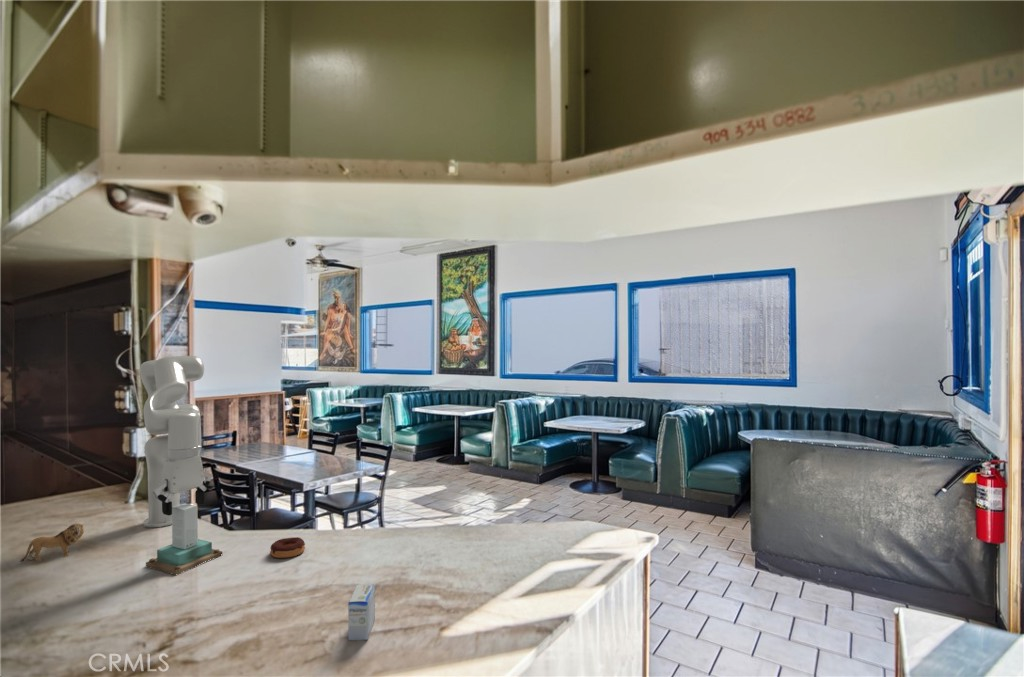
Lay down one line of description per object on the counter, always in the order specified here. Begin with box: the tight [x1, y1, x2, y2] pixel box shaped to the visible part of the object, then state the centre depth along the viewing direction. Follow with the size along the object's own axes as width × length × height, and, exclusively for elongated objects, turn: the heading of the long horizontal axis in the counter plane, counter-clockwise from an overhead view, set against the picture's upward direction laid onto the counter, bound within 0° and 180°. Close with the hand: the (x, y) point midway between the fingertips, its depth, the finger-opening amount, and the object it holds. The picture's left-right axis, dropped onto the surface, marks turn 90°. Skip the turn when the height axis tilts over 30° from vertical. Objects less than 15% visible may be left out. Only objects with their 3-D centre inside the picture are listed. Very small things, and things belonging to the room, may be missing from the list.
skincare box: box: [171, 502, 199, 549], centre depth 150 cm, size 6×4×12 cm
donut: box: [269, 536, 306, 559], centre depth 155 cm, size 10×10×4 cm
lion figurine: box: [19, 523, 85, 563], centre depth 154 cm, size 15×5×9 cm, turn 130°
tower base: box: [145, 538, 223, 576], centre depth 150 cm, size 14×14×4 cm
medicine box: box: [347, 583, 376, 641], centre depth 113 cm, size 8×4×9 cm, turn 5°
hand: (184, 509), depth 150 cm, fingers open, 9 cm apart
